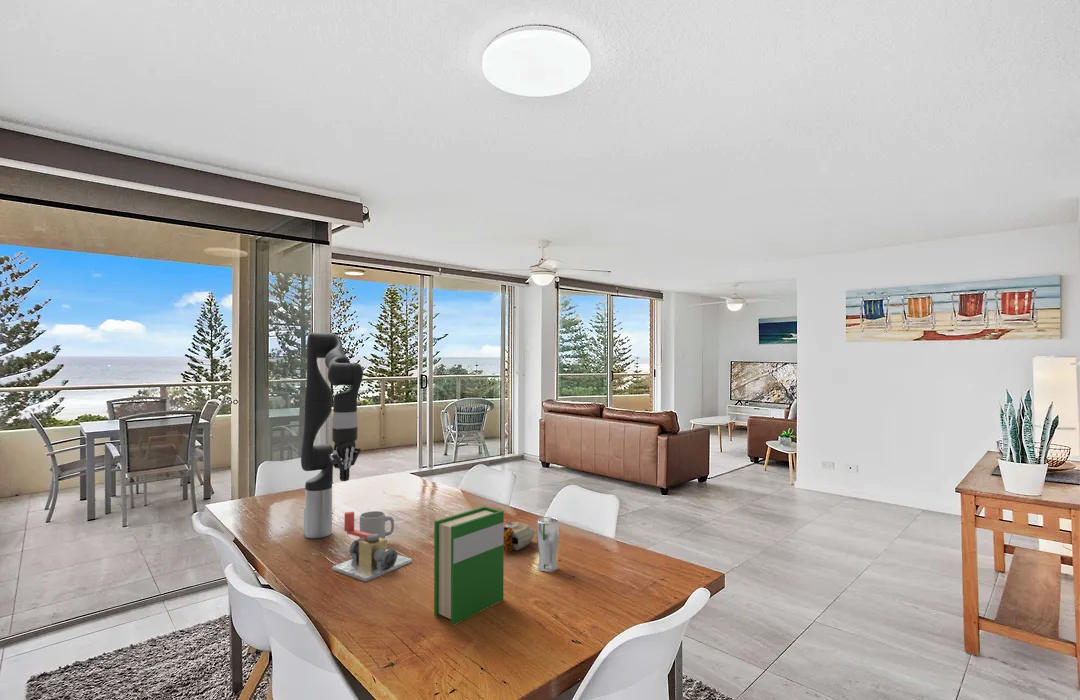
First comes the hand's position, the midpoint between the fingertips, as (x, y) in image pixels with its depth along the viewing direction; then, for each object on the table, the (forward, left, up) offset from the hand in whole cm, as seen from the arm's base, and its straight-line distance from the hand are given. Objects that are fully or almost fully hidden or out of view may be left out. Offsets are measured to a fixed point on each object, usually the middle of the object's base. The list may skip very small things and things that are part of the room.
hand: (344, 480), depth 166 cm
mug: (-6, +18, -27) cm, 33 cm away
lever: (+2, +5, -18) cm, 19 cm away
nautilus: (+34, +42, -27) cm, 60 cm away
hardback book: (+52, +1, -27) cm, 58 cm away
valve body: (+8, +5, -27) cm, 28 cm away
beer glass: (+55, +34, -27) cm, 70 cm away
